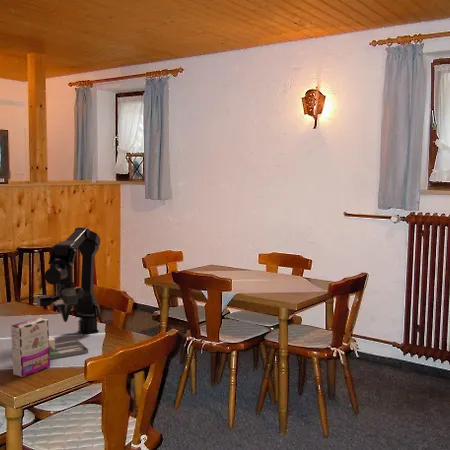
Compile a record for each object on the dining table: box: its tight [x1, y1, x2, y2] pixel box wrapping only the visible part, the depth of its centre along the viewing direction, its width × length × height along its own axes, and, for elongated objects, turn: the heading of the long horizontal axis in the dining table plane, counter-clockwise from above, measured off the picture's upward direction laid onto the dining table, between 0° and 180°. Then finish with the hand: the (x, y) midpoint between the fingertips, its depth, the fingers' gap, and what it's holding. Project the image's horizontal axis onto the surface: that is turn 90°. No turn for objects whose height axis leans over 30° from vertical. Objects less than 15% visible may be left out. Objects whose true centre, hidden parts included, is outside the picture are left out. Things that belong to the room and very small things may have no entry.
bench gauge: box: [49, 339, 89, 360], centre depth 194 cm, size 19×13×5 cm
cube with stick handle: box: [49, 336, 56, 351], centre depth 191 cm, size 4×8×4 cm, turn 33°
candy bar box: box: [10, 316, 51, 378], centre depth 175 cm, size 11×5×16 cm, turn 148°
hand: (65, 321), depth 195 cm, fingers closed
